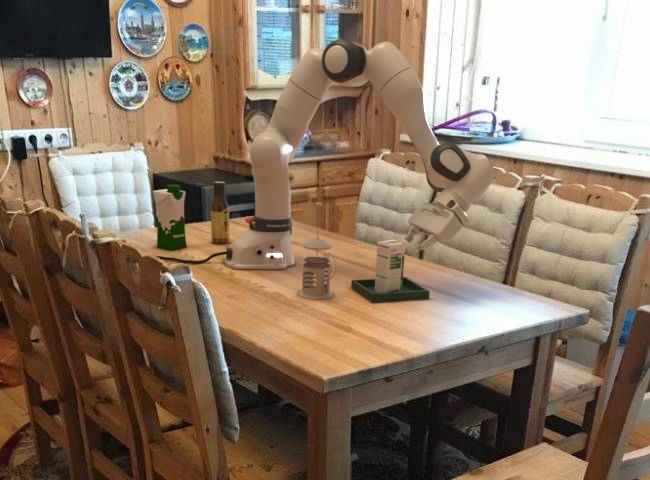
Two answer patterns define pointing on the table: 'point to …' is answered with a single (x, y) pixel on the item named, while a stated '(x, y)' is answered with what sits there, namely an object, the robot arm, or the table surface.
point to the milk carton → (170, 217)
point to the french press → (317, 269)
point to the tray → (408, 292)
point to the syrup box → (389, 266)
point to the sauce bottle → (219, 215)
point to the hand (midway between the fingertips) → (413, 244)
